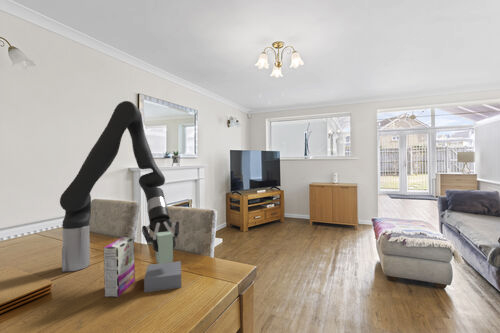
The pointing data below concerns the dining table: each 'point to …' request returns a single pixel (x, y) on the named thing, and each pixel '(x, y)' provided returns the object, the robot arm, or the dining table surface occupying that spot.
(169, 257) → the sage block
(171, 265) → the base block
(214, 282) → the dining table surface
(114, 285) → the candy bar box
